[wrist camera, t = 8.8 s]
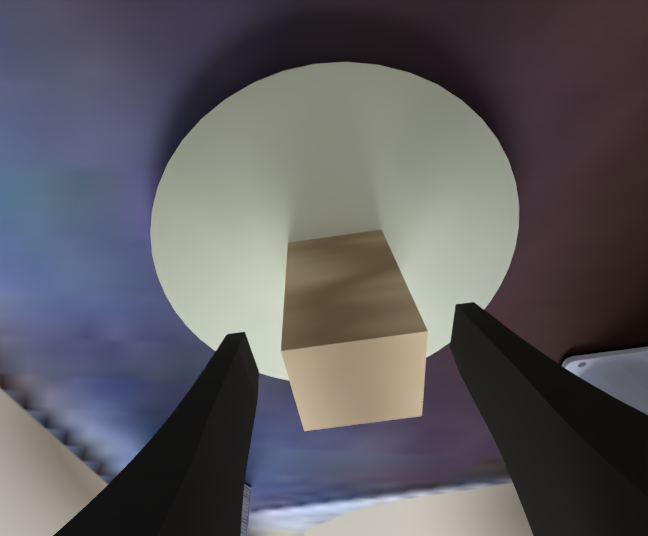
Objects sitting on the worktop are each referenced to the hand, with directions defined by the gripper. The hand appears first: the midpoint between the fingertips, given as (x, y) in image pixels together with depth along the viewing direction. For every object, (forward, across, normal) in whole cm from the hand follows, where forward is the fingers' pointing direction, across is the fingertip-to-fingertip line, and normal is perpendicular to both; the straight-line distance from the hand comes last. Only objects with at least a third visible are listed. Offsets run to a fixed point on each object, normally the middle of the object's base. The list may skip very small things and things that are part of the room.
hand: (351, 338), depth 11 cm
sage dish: (+6, 0, 0) cm, 6 cm away
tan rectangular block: (+4, 0, 0) cm, 4 cm away
